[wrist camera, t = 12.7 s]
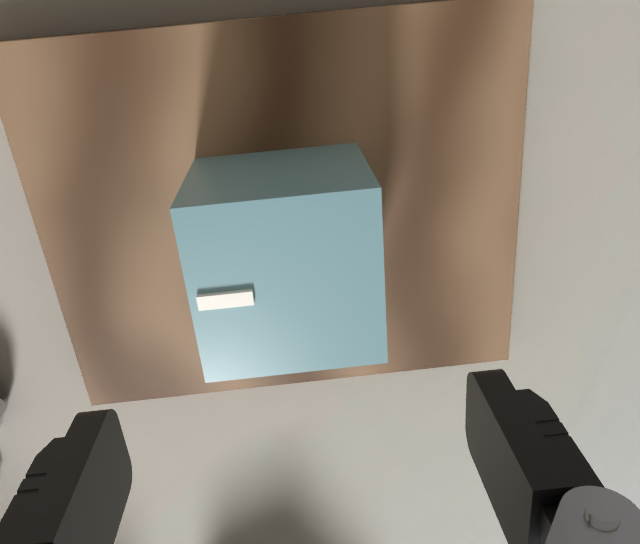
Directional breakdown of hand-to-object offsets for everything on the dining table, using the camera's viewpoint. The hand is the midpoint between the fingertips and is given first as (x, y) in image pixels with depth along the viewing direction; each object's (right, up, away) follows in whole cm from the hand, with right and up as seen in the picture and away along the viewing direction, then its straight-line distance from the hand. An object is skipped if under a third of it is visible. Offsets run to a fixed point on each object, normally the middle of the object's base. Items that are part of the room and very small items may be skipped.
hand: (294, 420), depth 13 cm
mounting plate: (-1, +6, +12) cm, 14 cm away
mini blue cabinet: (-1, +5, +11) cm, 12 cm away
